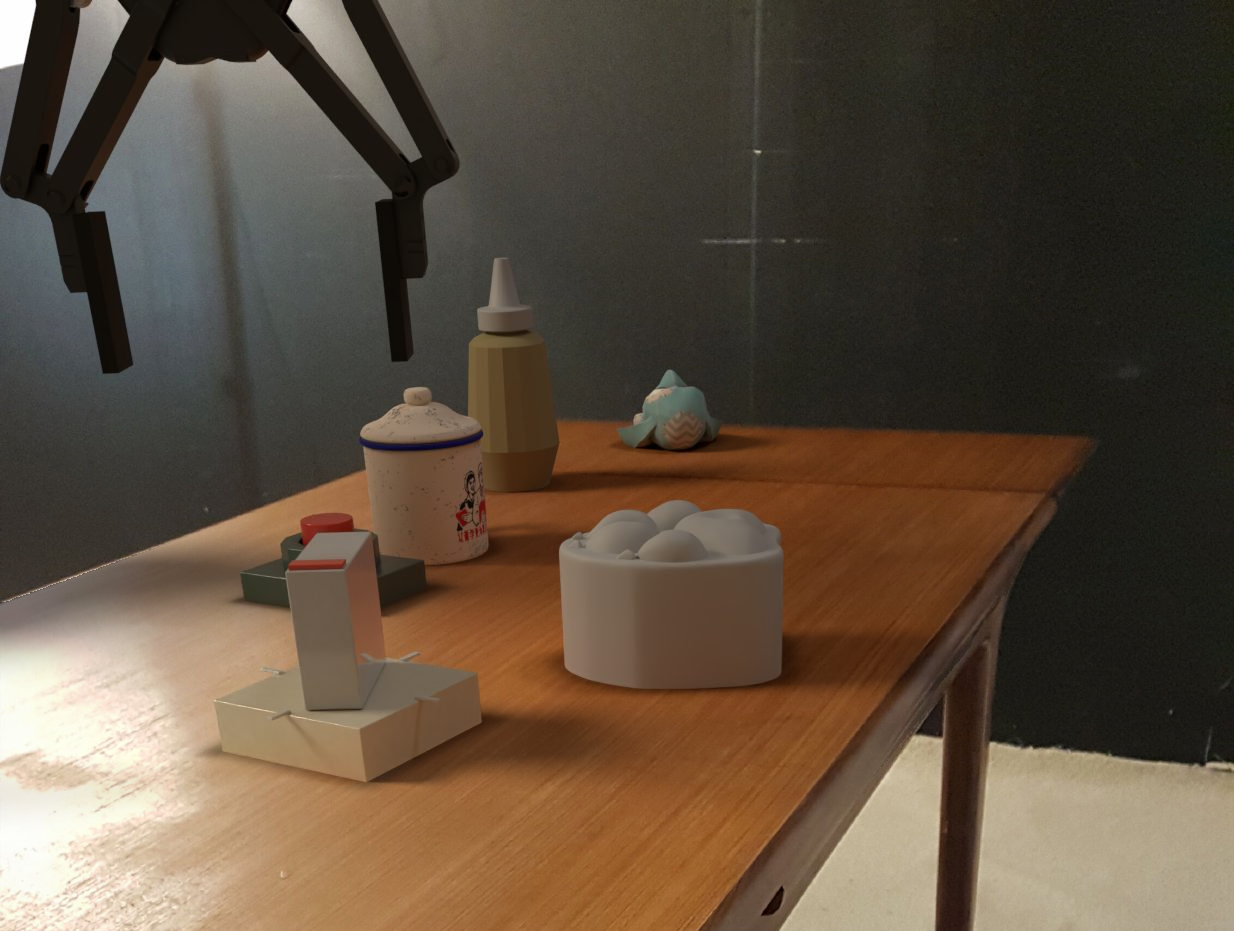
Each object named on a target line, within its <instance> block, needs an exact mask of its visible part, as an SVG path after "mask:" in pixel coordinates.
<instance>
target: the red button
mask: <svg viewBox="0 0 1234 931" xmlns="http://www.w3.org/2000/svg"><path fill="white" fill-rule="evenodd" d="M299 526H300V533H302V540H303V545H305V546H307V545H308V543H309V542H310V541H311V540H312V538H313V537H314V536H315V535H316V534H317V533H339V532H355V531H354V529H355V523H354V516H352V514H348V513H343V512H325V513H324V512H322V513H316V514H311V515H308V516H304V517H302V518H301V519H300V520H299Z"/></svg>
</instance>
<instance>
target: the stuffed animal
mask: <svg viewBox="0 0 1234 931" xmlns="http://www.w3.org/2000/svg"><path fill="white" fill-rule="evenodd" d="M632 421H633V424H631V425H629V426H625V427H617V428H615V430H616V432H617V434H618V435H619V437H620V439H621V440H622V442H623V443H624V444H626V445H628V446H629V447H631V448H634V449H635V448H646V447H650V446H654V445H657V446H658V447H660V448H661V449H664V450H665V451H666V450H667V451H685V450H689V449H691V448H693V447H695V446H696V444H701V443H712V442H713V441H714V440H715V438H716V437H717V436H718V434H719V433H720V430H721V428H722V425H723V422H724V420H723V419H717V418H715V417H713V416H711V415H710V413H709V411H708V406H707V402H706V397H705V394H704V392H702V390H700V389H699V388H698V387H695V386H692V385H687V384H686V383H685V382H684V381H683V380H682V378H681V376H679V375H678V374H677V372H675V370H673V369H667V370H666V372H665V373H664V375H663V376H662V378H661V380H660V382H659V384H658V385H657V386H656V387H655V389H653V390H652V391H651V392H650V393H648V395H647V396H646V397H645V399H644V401H643V404H642V412H639V413H635V415H634V417H633V420H632Z"/></svg>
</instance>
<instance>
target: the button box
mask: <svg viewBox="0 0 1234 931" xmlns="http://www.w3.org/2000/svg"><path fill="white" fill-rule="evenodd" d="M354 531H355V532H371V533H372V540H373V548H374V557H375V566H376V574H377V583H378V592H379V601H380V609H381V608H383V607H385V606H388V605H391V604H394V603H396V602H398V601H401V600H403V599H405V598H408V597H411V596H413V595H416V594H418V593H420V592H423V591H425V590H427V589H428V585H427V574H426V566H425V563H424V560H419V559H411V558H404V557H396V556H388V555H381V554H380V551H379V542H378V535H376V534H375V533H373V531H371V530H369V529H361V528H354ZM279 546H280V547H279V548H280V554H281V557H280V558H277V559H274V560H270V561H268V562H265V563H261V564H260V565H256V566H254V567H251V568H248V569H244V570H242V571H240V572H239V575H240V581H241V586H242V587H241V588H242V593H243V594H242V595H243V599H244V602H250V603H255V604H260V605H268V606H275V607H279V608H280V607H281V608H287V609H290V602H289V595H288V588H287V581H286V575H285V572H286V571H287V569H288V565H289V564H290V562H291V561H292V560H295V559H296V558H297V557H298V556H299V554H300V553H301V552H302V551H303V550H304V548H305V547H306V546H305V545H303V540H302V533H301V532H298V533H295V534H292V535H289V536H285V538H284V539H283V540H282V541H281V542H280V545H279Z"/></svg>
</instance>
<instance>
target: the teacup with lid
mask: <svg viewBox="0 0 1234 931" xmlns="http://www.w3.org/2000/svg"><path fill="white" fill-rule="evenodd" d="M432 399H433V396H432V391H431V390H430V388H429V387H426V386H416V387H415V386H414V387H408V388H406V389H404V392H403V400H404V403H400V404H398V405H396V406H394V407H392V408H391V409H390V410H388V411H387V413H385V414H384V415H383V416H382V417H380V418H379V419H376V420H373V421H371V422H369V423H367V424H365V425H364V426H362V429H361V430H360V436H359V438H358V442H359V444H360V445H361V446H362V447H363V456H364V464H365V473H366V482H367V483H366V484H367V491H368V499H369V508H370V516H371V526H372V532H373V533H375V534H376V535H378V542H379V551H380V554H381V555H388V556H396V557H404V558H411V559H419V560H424V563H425V567H426V566H440V565H448V564H449V565H450V564H455V563H462V562H465V561H470V560H472V559H476V558H478V557H481V556H483V555H484V554H485V553H487V551H488V550H489V545H490V544H489V533H488V532H489V531H488V519H487V506H486V505H487V504H486V493H485V489H484V478H483V465H482V452H481V438H482V437H483V431H482V429H481V425H480V424H479V422H478V421H477V420H475V419H474V418H471V417H468V415H463V414H461V413H457V412H456V411H454V410H453V409H451V408H450V407H448V406H447V405H445V404H443V403H440V402H437V401H432Z"/></svg>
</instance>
